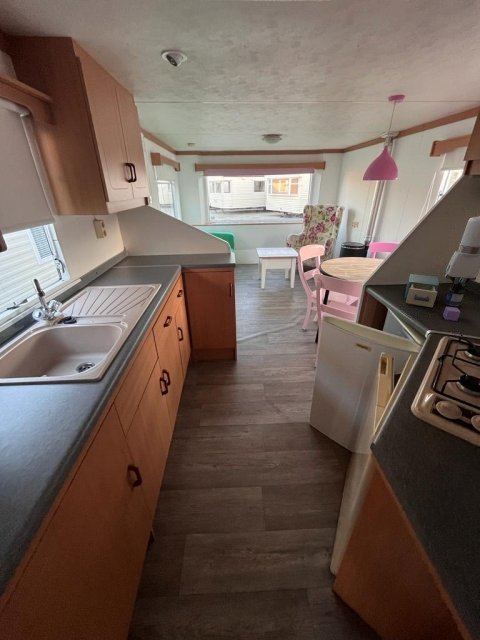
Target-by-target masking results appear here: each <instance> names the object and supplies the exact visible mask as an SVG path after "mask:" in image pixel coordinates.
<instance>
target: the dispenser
mask: <svg viewBox="0 0 480 640" xmlns="http://www.w3.org/2000/svg"><path fill="white" fill-rule="evenodd" d="M411 283H413V284H421V285H429V286H435V291H437V292H438V289H439V286H440V284H439V283H440V282H439V278H438V276H432V275H425V274H415V273H410V274H409V276H408V280H407V284H406V288H405V293H404V300H406V299H407V296H408V292H409V289H410V286H411Z"/></svg>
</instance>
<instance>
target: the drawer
mask: <svg viewBox="0 0 480 640" xmlns="http://www.w3.org/2000/svg"><path fill="white" fill-rule="evenodd" d="M438 293H439V292H438V290H437V291H435V286H429V285H421V284H413V283H411V286H410V289H409V292H408V296H407V299H405V304H408V305H415V306H422V307H428V308H433V307H434V306H435V302H436V298H437V295H438Z"/></svg>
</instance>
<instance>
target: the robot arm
mask: <svg viewBox="0 0 480 640" xmlns="http://www.w3.org/2000/svg"><path fill="white" fill-rule="evenodd" d="M479 273H480V215H479V216H472V217H470V218H468V220H467V223H466V226H465V229H464V232H463V235H462V237H461V241H460V244H459V246H458V249H457V250H455V251H454V253H453V255H451V258H450V260H449V262H448V264H447V267H446V270H445V275H444V278H445V279H448V280H450V281H451V282H452V285H451V287H450V288H451V290H452V292H453V293H458V292H459V291H460V290H461V288H462V285H463V284H465V285H466V283H468V282H471V281H472V282H473V281H476V280H477V277H478V276H479Z"/></svg>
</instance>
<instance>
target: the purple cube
mask: <svg viewBox="0 0 480 640" xmlns="http://www.w3.org/2000/svg"><path fill="white" fill-rule="evenodd" d="M460 315H461V311H460V309H459V307H449V306H445V308H444V311H443V313H442V317H443V318H444V320H446V321H455V322H458V319H459V318H460Z"/></svg>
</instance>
